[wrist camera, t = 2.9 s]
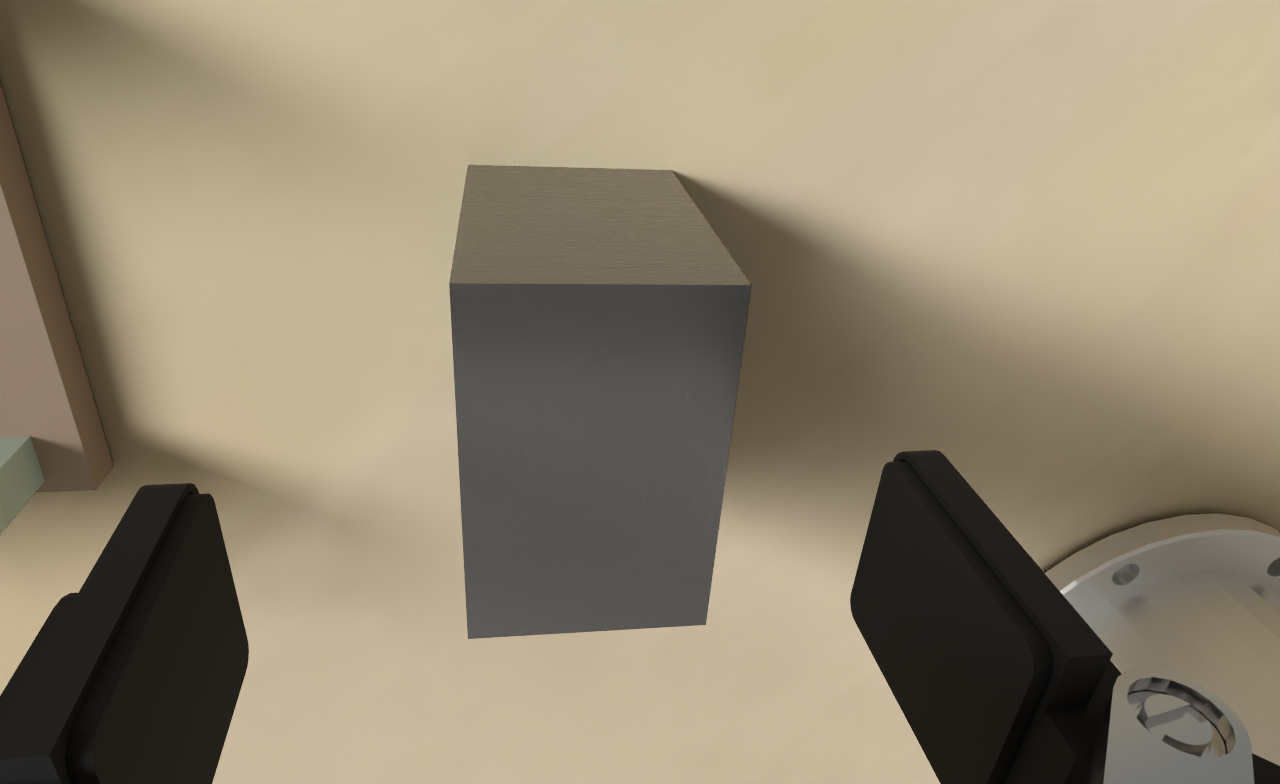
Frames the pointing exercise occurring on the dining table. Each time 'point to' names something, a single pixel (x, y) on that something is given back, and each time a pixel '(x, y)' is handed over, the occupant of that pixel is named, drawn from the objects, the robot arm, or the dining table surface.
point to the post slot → (38, 357)
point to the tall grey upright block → (591, 398)
